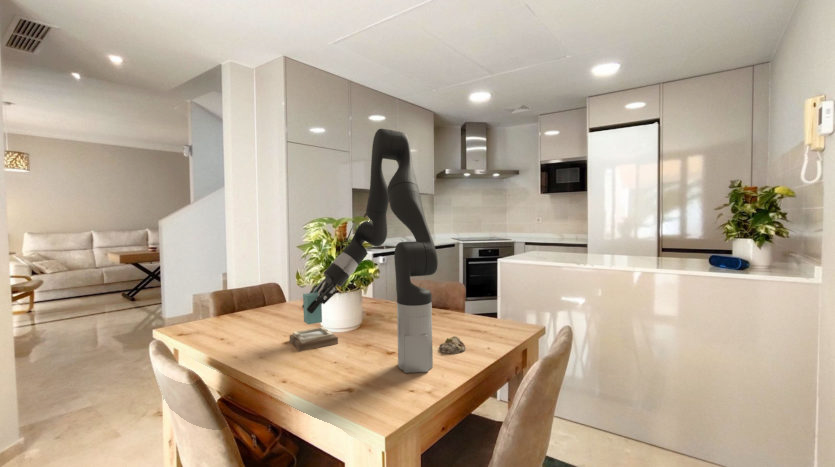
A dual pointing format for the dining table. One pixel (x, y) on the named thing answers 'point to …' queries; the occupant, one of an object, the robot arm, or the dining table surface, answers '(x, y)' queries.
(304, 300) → the teal block
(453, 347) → the mineral rock
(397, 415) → the dining table surface
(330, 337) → the block
